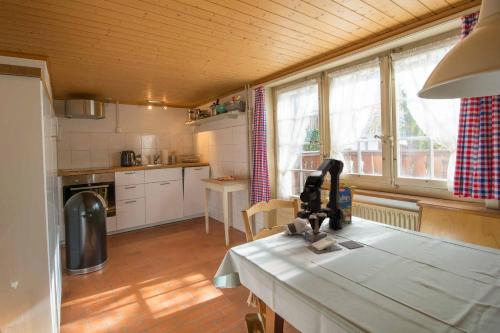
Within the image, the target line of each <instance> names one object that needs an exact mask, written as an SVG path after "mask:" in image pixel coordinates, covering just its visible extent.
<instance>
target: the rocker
mask: <svg viewBox="0 0 500 333" xmlns="http://www.w3.org/2000/svg"><path fill="white" fill-rule="evenodd" d="M337 242H338V241H337V239H336V238H334V237H331V236H330V235H327V237H325V238H323V239H321V240H319V241H317V242H315V243H311V245H312V247H314V248H316V249H317V250H319V251H320V250H322V249H324V248H326V247H328V246H330V245H332V244H334V245H335V243H337Z"/></svg>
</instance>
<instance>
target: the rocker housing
mask: <svg viewBox="0 0 500 333" xmlns="http://www.w3.org/2000/svg"><path fill="white" fill-rule="evenodd" d="M306 248H308V249H309V250H311V251H312V252H314V253H315V254H318V255H320V254H326V253H331V252H332V253H333V252H335V251H336V252H337V251H342V250H343V248H342V247H340V246H338V245H337V244H335V243H334V244H332V245H330V246H328V247H326V248H324V249H322V250H320V251H319V250H317V249H316V248H314V247H312V245H306Z"/></svg>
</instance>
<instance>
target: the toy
mask: <svg viewBox="0 0 500 333" xmlns="http://www.w3.org/2000/svg"><path fill="white" fill-rule="evenodd" d="M282 230H285V231H284V234H287V235H290V236H291V235H293V234H298V235H299V236H301V235H303V234H305V231H308V230H312V228H311V226H309V224H307V219H301V218H299V217H297V218H295V219H294V220H293V222H291V223H286V225H284V227H283V228H282Z"/></svg>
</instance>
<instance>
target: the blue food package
mask: <svg viewBox="0 0 500 333" xmlns="http://www.w3.org/2000/svg"><path fill="white" fill-rule="evenodd" d="M329 201H330V191H329V193H328V202H329ZM339 203H340V204H341V208H342V211H343V213H344V219H342V225H346V224H351V223H352V222H353V220H352V219H353V218H352V213H353V212H352V211H353V210H352V208H353V206H352V204H353V203H352V192H351V189H350V187H349V182H339Z"/></svg>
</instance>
